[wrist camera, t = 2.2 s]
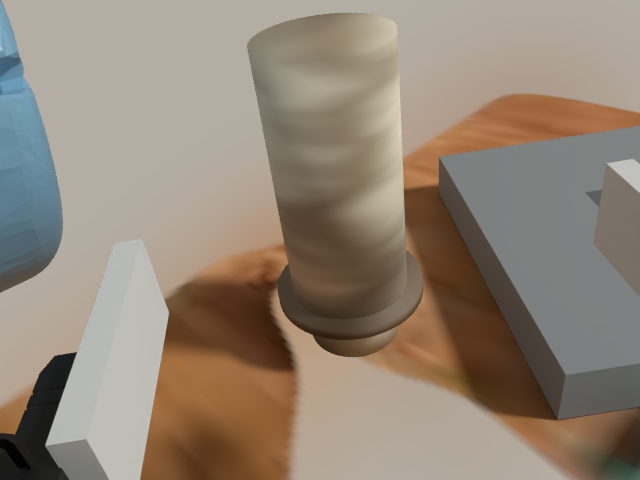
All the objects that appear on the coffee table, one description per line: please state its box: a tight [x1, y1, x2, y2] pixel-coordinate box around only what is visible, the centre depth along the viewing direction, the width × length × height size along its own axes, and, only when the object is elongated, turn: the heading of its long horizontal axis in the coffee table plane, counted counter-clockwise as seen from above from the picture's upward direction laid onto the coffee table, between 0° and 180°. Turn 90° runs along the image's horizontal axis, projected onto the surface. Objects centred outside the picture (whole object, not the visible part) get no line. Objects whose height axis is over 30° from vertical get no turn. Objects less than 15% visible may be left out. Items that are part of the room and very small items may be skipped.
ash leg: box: [247, 13, 423, 357], centre depth 28 cm, size 8×8×16 cm
